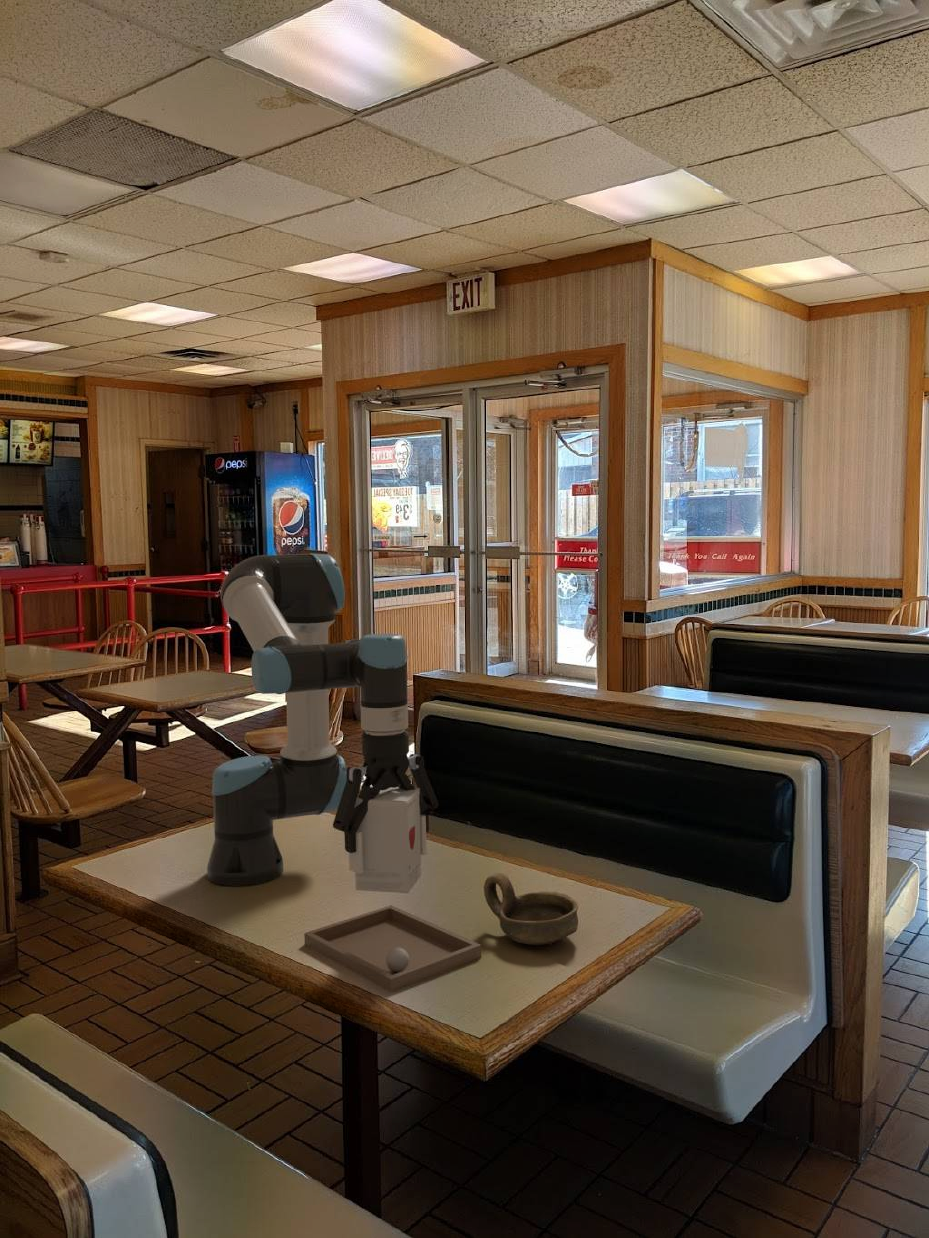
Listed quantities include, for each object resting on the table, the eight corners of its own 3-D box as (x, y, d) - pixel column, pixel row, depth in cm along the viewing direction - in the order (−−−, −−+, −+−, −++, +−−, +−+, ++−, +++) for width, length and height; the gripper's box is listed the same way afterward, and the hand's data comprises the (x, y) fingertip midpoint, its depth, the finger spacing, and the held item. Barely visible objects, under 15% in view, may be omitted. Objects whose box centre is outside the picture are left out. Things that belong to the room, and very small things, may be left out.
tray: (304, 947, 168) (304, 933, 168) (391, 918, 180) (391, 905, 180) (391, 995, 150) (391, 979, 150) (481, 959, 162) (481, 944, 162)
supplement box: (409, 894, 159) (406, 801, 157) (354, 891, 160) (351, 799, 159) (423, 875, 167) (421, 786, 166) (371, 872, 169) (368, 784, 168)
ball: (381, 970, 157) (380, 948, 157) (400, 963, 160) (399, 941, 159) (395, 978, 154) (394, 955, 154) (414, 971, 157) (413, 948, 156)
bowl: (553, 964, 160) (552, 903, 159) (464, 939, 170) (463, 882, 169) (596, 935, 171) (595, 878, 170) (510, 914, 181) (509, 859, 180)
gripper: (334, 746, 151) (339, 886, 153) (457, 723, 167) (460, 850, 169) (307, 738, 157) (312, 874, 159) (429, 717, 172) (432, 840, 174)
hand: (388, 862), depth 164 cm, fingers closed on supplement box, 12 cm apart
